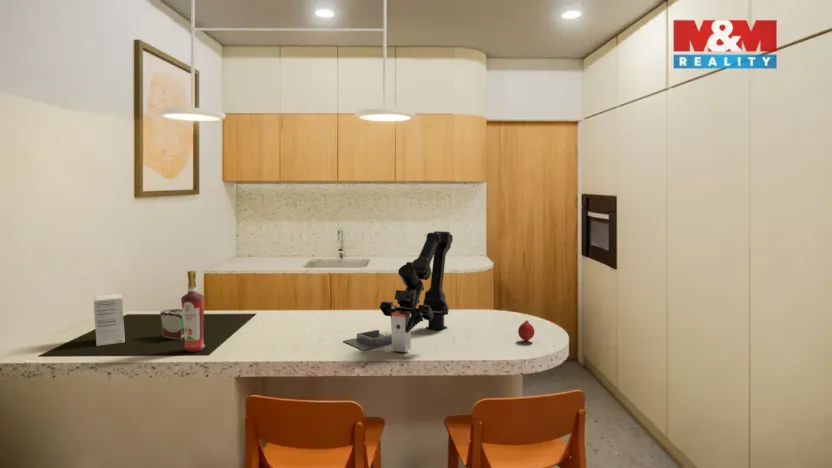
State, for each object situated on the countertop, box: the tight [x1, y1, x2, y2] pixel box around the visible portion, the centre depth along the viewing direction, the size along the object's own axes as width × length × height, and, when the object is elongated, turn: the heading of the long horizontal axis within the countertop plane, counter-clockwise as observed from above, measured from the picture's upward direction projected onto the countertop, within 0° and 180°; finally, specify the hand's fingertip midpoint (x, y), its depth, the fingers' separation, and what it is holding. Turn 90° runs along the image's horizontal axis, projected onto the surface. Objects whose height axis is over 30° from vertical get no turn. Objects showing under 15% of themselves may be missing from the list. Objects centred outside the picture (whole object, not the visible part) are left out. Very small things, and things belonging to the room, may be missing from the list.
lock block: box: [391, 310, 412, 353], centre depth 187 cm, size 5×5×13 cm
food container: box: [159, 308, 185, 341], centre depth 209 cm, size 12×6×10 cm, turn 65°
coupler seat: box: [342, 329, 392, 352], centre depth 200 cm, size 16×14×3 cm
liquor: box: [180, 270, 206, 353], centre depth 190 cm, size 7×7×28 cm
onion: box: [517, 319, 535, 342], centre depth 199 cm, size 6×6×8 cm
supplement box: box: [93, 293, 126, 347], centre depth 202 cm, size 10×9×17 cm
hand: (399, 331), depth 186 cm, fingers closed on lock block, 5 cm apart
